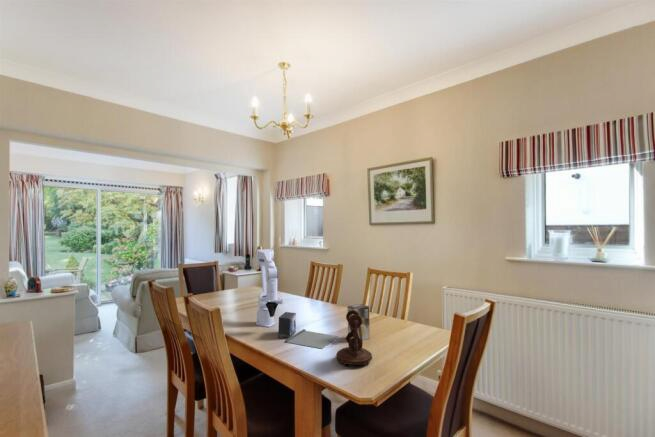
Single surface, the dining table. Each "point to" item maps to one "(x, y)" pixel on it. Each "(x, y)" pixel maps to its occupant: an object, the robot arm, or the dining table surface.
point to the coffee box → (364, 315)
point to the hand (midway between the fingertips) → (272, 316)
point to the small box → (287, 325)
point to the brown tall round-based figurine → (354, 343)
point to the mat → (311, 339)
